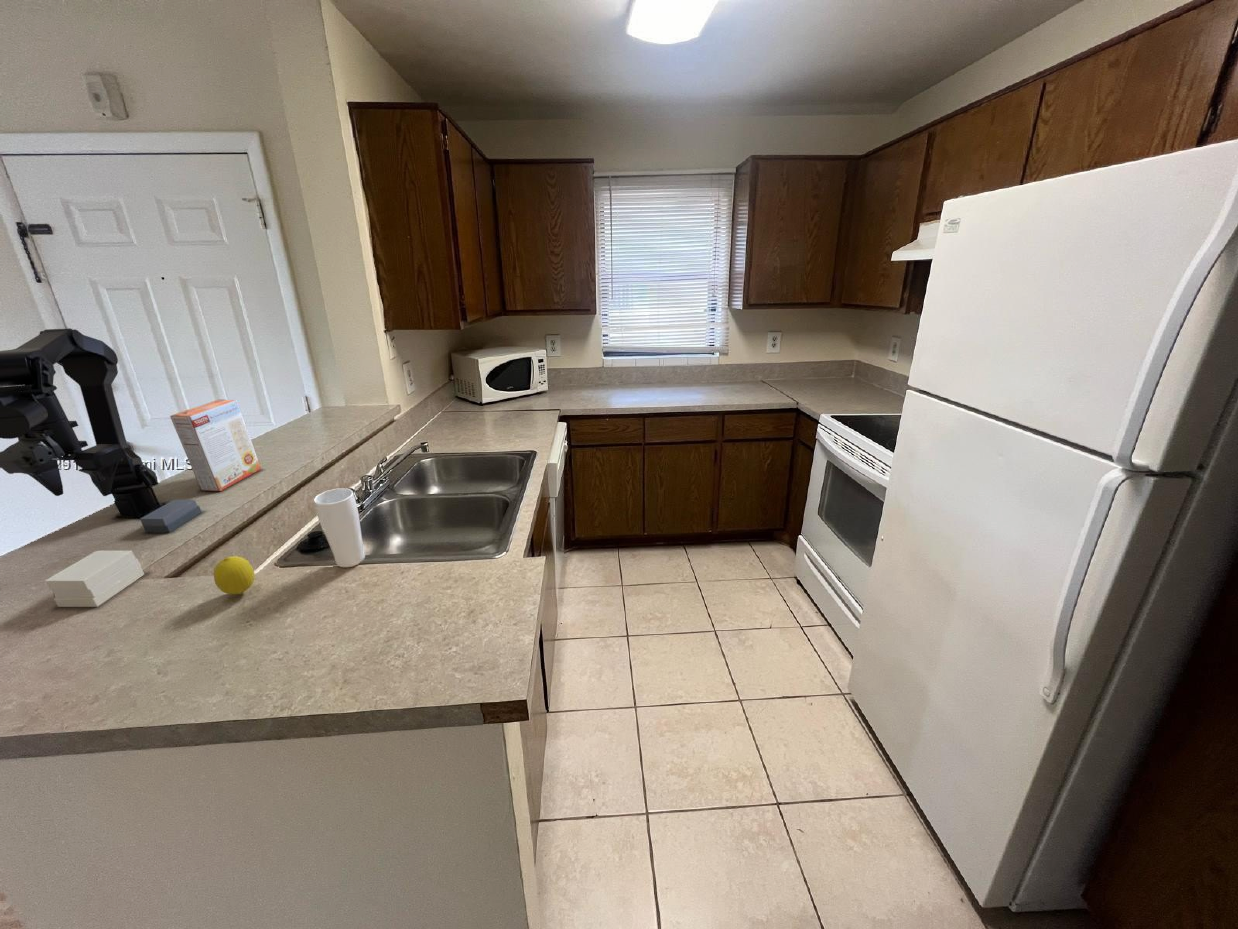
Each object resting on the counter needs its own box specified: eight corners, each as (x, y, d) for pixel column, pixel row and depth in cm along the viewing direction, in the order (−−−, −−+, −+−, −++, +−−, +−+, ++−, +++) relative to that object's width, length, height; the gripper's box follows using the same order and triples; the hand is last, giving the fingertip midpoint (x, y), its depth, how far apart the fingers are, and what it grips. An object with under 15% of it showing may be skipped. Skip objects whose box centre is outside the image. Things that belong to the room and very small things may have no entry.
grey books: (180, 512, 113) (174, 499, 112) (202, 512, 113) (196, 499, 112) (145, 532, 105) (139, 518, 103) (169, 532, 105) (163, 518, 103)
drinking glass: (344, 575, 92) (325, 508, 86) (325, 564, 95) (305, 498, 89) (376, 557, 97) (360, 493, 91) (357, 547, 100) (341, 484, 94)
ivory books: (109, 574, 91) (101, 558, 90) (145, 574, 91) (137, 558, 90) (58, 607, 83) (48, 590, 81) (97, 607, 83) (88, 590, 82)
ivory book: (101, 559, 90) (96, 550, 89) (136, 559, 90) (131, 550, 89) (49, 590, 82) (44, 580, 81) (88, 590, 82) (83, 580, 81)
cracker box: (243, 468, 136) (218, 398, 127) (262, 469, 135) (239, 399, 126) (198, 491, 123) (167, 414, 114) (220, 492, 122) (190, 415, 114)
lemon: (219, 607, 83) (203, 570, 80) (226, 589, 88) (211, 553, 84) (257, 597, 86) (243, 561, 82) (262, 580, 90) (248, 545, 87)
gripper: (-65, 436, 80) (-14, 516, 86) (48, 436, 80) (90, 516, 86) (12, 415, 90) (52, 487, 96) (111, 415, 90) (145, 488, 96)
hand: (83, 495), depth 94 cm, fingers open, 9 cm apart
